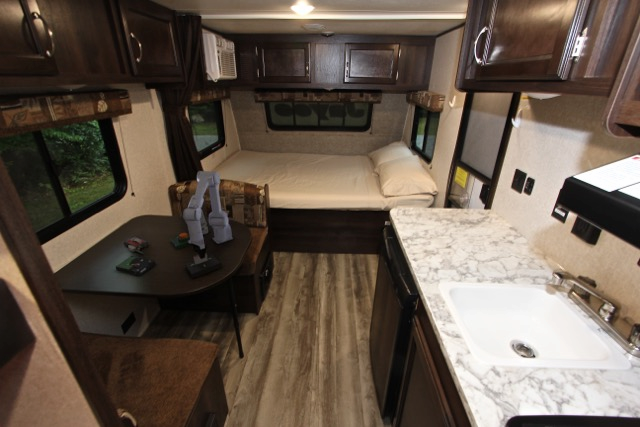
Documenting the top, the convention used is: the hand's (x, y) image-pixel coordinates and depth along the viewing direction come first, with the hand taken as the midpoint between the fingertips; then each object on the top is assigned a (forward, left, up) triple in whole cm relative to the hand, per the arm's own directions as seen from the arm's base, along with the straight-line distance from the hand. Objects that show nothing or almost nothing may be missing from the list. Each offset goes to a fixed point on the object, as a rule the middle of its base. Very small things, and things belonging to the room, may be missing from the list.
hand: (199, 254), depth 146 cm
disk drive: (+26, -20, -7) cm, 34 cm away
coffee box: (-13, -37, -7) cm, 40 cm away
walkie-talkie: (+21, -40, -7) cm, 46 cm away
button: (-1, -30, -4) cm, 30 cm away
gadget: (0, +1, -7) cm, 7 cm away
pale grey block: (0, 0, -4) cm, 4 cm away
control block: (-1, -30, -7) cm, 31 cm away
